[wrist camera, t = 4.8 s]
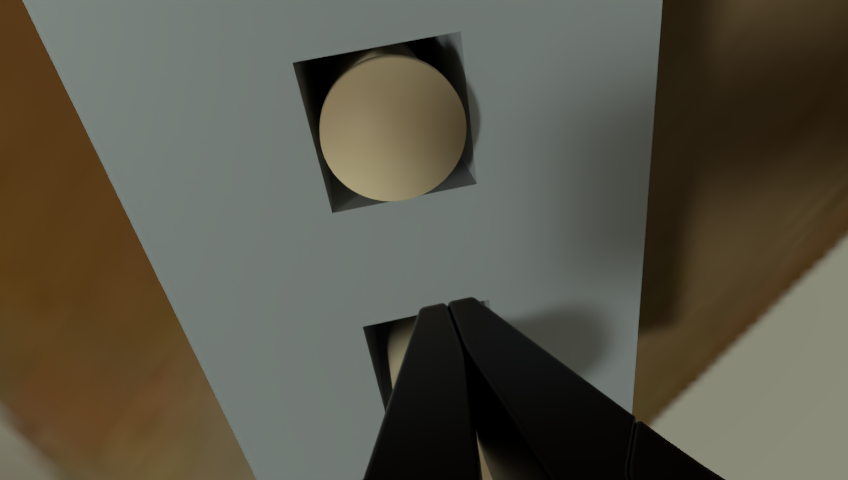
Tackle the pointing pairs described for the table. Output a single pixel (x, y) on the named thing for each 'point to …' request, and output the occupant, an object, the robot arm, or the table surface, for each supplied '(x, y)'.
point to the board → (361, 216)
